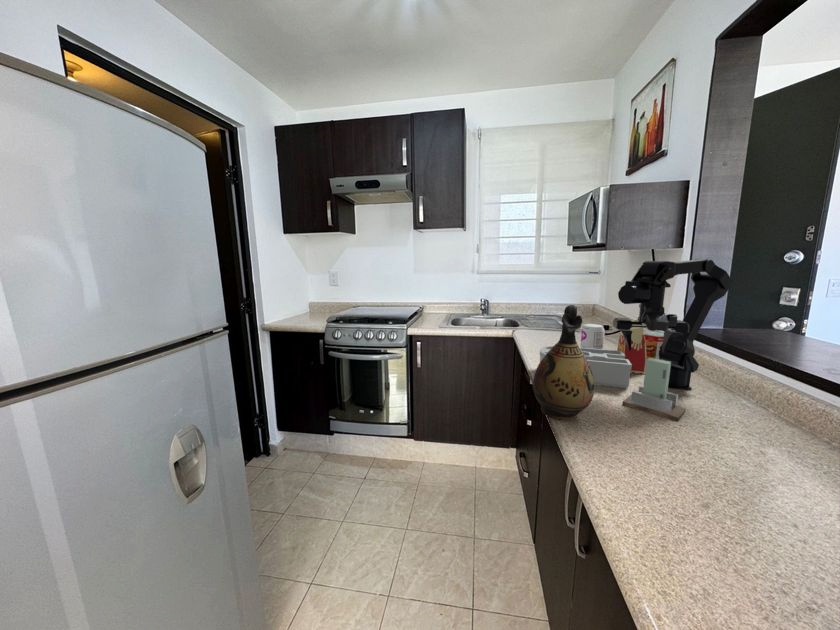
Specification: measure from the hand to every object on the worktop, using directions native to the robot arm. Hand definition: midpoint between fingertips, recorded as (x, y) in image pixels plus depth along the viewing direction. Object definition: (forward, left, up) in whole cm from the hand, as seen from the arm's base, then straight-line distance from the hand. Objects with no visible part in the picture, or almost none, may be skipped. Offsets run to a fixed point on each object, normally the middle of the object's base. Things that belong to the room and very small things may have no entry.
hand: (646, 351), depth 101 cm
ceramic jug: (+26, +22, -13) cm, 37 cm away
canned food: (-13, -33, -13) cm, 38 cm away
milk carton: (-2, -22, -13) cm, 26 cm away
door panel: (+1, +13, -12) cm, 18 cm away
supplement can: (+10, -29, -13) cm, 33 cm away
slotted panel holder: (+1, +13, -13) cm, 18 cm away
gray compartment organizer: (+17, -9, -14) cm, 24 cm away
